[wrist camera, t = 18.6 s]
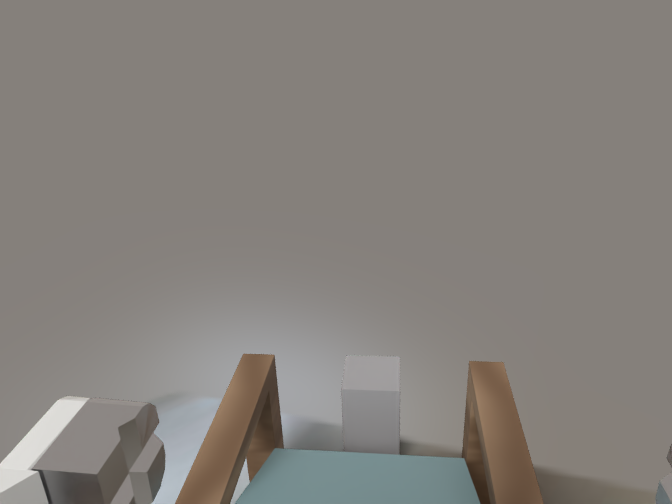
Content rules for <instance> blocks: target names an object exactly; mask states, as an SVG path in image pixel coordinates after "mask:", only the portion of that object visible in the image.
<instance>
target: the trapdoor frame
mask: <svg viewBox="0 0 672 504" xmlns="http://www.w3.org/2000/svg"><path fill="white" fill-rule="evenodd" d="M275 448H281V449H284V445H283V435H282V425H281V415H280V406H279V397H278V386H277V377H276V366H275V356H274V355H264V354H243V356H242V358H241V360H240V362H239V365H238V367H237V369H236V371H235V373H234V375H233V378H232V380H231V382H230V384H229V386H228V389H227V391H226V393H225V395H224V397H223V400H222V402H221V404H220V406H219V408H218V411H217V413H216V415H215V417H214V419H213V422H212V424H211V426H210V428H209V430H208V432H207V435H206V437H205V439H204V441H203V443H202V446H201V448H200V450H199V452H198V454H197V457H196V459H195V461H194V463H193V465H192V468H191V470H190V472H189V474H188V476H187V479H186V481H185V483H184V485H183V487H182V489H181V492H180V494H179V496H178V498H177V500H176V503H175V504H230V502H231V499H232V496H233V493H234V490H235V487H236V485H237V482H238V479H239V476H240V473H241V470H242V467H243V464H244V461H245V459H246V458H247V465H248V473H249V480H250V482H251V481H252V479H253V478H254V476H255V475H256V474H257V472H258V471H259V470H260V468H261V467H262V465H263V464H264V463H265V461H266V460H267V458H268V457H269V456H270V454H271V453H272V452H273V450H274V449H275ZM462 458H464V459H465V462H466V465H467V468H468V470H469V473H470V476H471V479H472V482H473V484H474V487H475V490H476V493H477V496H478V498H479V501H480V504H544V503H543V499H542V496H541V492H540V489H539V485H538V482H537V478H536V475H535V471H534V468H533V464H532V461H531V457H530V454H529V450H528V447H527V443H526V440H525V437H524V433H523V430H522V426H521V423H520V419H519V416H518V412H517V409H516V405H515V402H514V398H513V395H512V391H511V388H510V384H509V381H508V378H507V374H506V370H505V367H504V363H503V362H479V361H469V371H468V385H467V398H466V411H465V424H464V438H463V450H462Z"/></svg>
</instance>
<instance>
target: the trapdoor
mask: <svg viewBox="0 0 672 504" xmlns="http://www.w3.org/2000/svg"><path fill="white" fill-rule="evenodd" d="M235 504H480V501H479V498H478V496H477V493H476V490H475V487H474V484H473V482H472V479H471V476H470V473H469V470H468V468H467V465H466V462H465V459H464V458H450V457H432V456H413V455H394V454H375V453H357V452H338V451H319V450H300V449H281V448H275V449H274V450H273V452H272V453H271V454H270V456H269V457H268V458H267V460H266V461H265V463H264V464H263V465H262V467H261V468H260V470H259V471H258V472H257V474H256V475H255V476H254V478H253V479H252V481H251V482H250V483H249V485H248V486H247V488H246V489H245V490H244V492H243V493H242V494H241V496H240V497H239V499H238V500H237V501H236V503H235Z"/></svg>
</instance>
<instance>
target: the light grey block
mask: <svg viewBox="0 0 672 504" xmlns="http://www.w3.org/2000/svg"><path fill="white" fill-rule="evenodd" d="M341 396H342V417H343V442H344V452H357V453H375V454H394V455H399V443H400V357H396V356H355V355H346V360H345V366H344V373H343V380H342V388H341Z"/></svg>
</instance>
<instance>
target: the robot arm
mask: <svg viewBox="0 0 672 504" xmlns="http://www.w3.org/2000/svg"><path fill="white" fill-rule="evenodd" d="M158 423H159V419H158V415H157V411H156V407H155V406H154V405H152V404H150V403H146V402H135V401H124V400H113V399H102V398H94V399H93V398H85V397H74V396H66V397H63V398H61V399H58V400H57V401H56V402H55V404H54V405H53V406H52V407H51V408H50V409H49V410H48V411H47V412H46V413H45V415H44V416H43V417H42V418H41V419H40V420H39V421H38V422H37V423H36V424H35V426H34V427H33V428H32V429H31V430H30V431H29V432H28V433H27V435H25V437H24V438H23V439H22V440H21V441H20V442H19V443H18V444H17V445H16V447H15V448H14V449H13V450H12V451H11V452H10V453H9V454H8V455H7V456H6V458H5V459H4V460H3V461H2V462H1V463H0V504H151V503H152V502H153V501H154V499H155V497H156V495H157V493H158V491H159V488H160V486H161V482H162V478H163V474H164V470H165V450H164V445H163V442H162V441H161V440H160V439H159V438H158V437H157V436H156V435H155V434H154V433H153V432H154V430H155V428H156V427H157V425H158ZM667 460H668V462H669V463H670V465H671V467H672V444H671V446H670V449H669V452H668V455H667ZM656 504H672V472H671V473H670V474H668V475H667V476H665V477H664V478H663V479H661V480H660V482H659V486H658V490H657V494H656Z"/></svg>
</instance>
